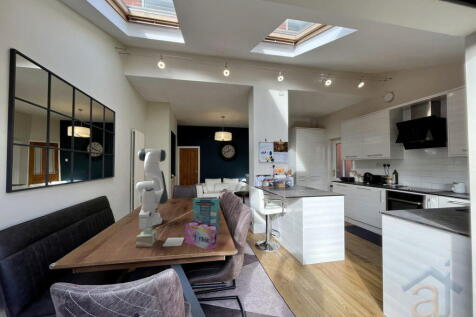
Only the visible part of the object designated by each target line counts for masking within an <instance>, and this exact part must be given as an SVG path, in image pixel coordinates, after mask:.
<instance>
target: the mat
mask: <svg viewBox="0 0 476 317" xmlns="http://www.w3.org/2000/svg"><path fill="white" fill-rule="evenodd" d="M185 239H186V236H185V237H167V239H165V240H166V241H165V242H164V243H163V244H162V247H181V246H182V245H183V243H184V241H185Z"/></svg>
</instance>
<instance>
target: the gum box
mask: <svg viewBox="0 0 476 317" xmlns="http://www.w3.org/2000/svg"><path fill="white" fill-rule="evenodd" d="M184 241H185V243H186V244H189V245H191V246H195V247H198V248H201V249H204V250H208V251H212V250H213V249H214V248H216V247H218V234H217V226H215V225H210V224H205V223H201V222H196V221H193V220H192V221H189V222H186V223H185V239H184Z"/></svg>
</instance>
